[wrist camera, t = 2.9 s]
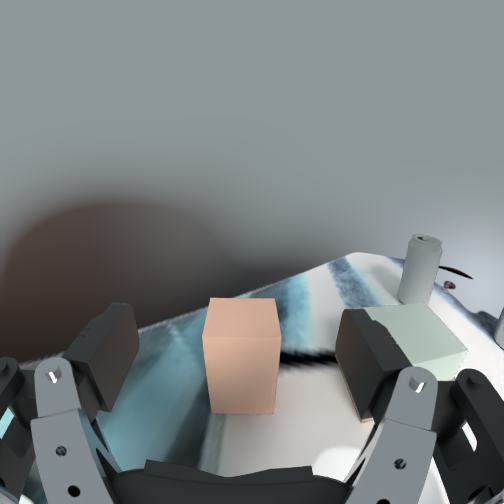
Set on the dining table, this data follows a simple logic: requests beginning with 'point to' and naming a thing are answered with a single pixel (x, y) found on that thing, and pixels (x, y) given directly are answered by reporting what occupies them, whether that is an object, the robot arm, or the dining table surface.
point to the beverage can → (420, 269)
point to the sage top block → (422, 337)
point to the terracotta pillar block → (242, 355)
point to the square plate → (25, 500)
